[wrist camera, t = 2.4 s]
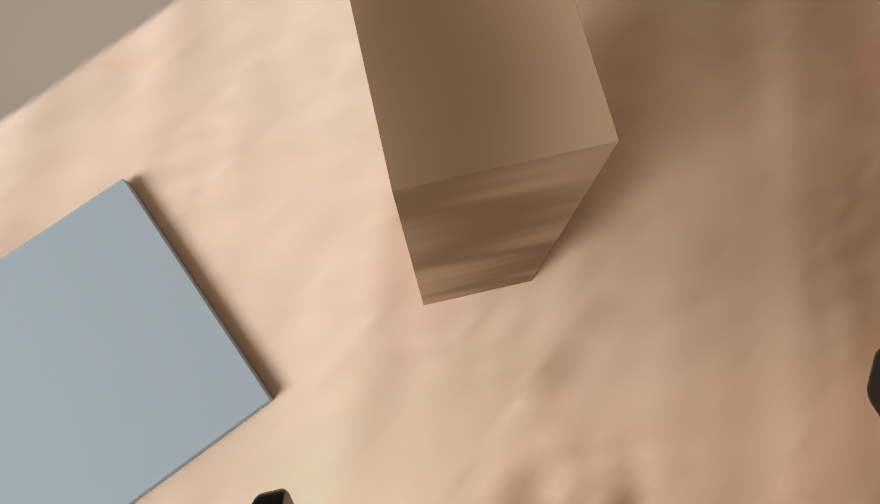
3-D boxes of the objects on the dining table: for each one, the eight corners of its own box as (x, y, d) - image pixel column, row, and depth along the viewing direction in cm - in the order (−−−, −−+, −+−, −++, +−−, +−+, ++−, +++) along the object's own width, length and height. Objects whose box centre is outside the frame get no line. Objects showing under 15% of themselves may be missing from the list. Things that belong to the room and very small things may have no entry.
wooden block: (498, 154, 24) (543, -97, 12) (531, 280, 23) (619, 141, 11) (395, 177, 24) (338, -55, 12) (423, 305, 23) (392, 190, 11)
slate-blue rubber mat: (273, 399, 22) (269, 399, 22) (19, 587, 21) (9, 591, 21) (129, 183, 24) (122, 178, 24) (-111, 342, 23) (-123, 340, 23)
